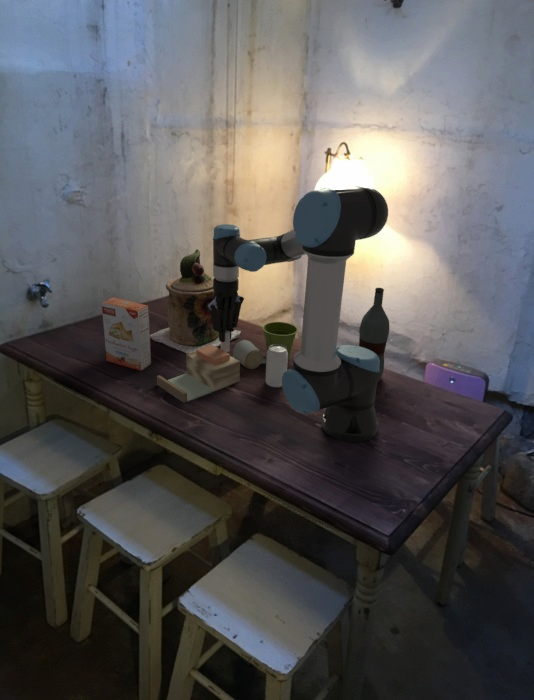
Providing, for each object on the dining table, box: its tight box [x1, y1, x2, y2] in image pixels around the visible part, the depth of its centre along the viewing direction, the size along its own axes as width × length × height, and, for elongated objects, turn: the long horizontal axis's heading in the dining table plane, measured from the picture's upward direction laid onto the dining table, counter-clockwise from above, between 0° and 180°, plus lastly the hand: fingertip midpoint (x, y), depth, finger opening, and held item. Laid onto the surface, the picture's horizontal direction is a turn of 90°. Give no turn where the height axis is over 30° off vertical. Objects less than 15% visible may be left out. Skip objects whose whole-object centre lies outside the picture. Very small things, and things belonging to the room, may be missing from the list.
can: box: [265, 345, 289, 389], centre depth 175 cm, size 6×6×12 cm
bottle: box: [358, 287, 390, 383], centre depth 178 cm, size 9×9×30 cm
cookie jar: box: [150, 248, 242, 354], centre depth 200 cm, size 25×25×32 cm
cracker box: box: [101, 297, 152, 372], centre depth 182 cm, size 14×6×21 cm, turn 64°
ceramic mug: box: [232, 339, 267, 370], centre depth 188 cm, size 11×8×8 cm
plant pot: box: [262, 321, 299, 361], centre depth 192 cm, size 12×12×11 cm
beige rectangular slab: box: [185, 351, 241, 392], centre depth 178 cm, size 14×10×7 cm
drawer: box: [156, 372, 215, 404], centre depth 172 cm, size 14×11×3 cm
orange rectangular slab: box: [196, 345, 231, 366], centre depth 176 cm, size 9×6×2 cm, turn 44°
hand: (225, 350), depth 179 cm, fingers closed
